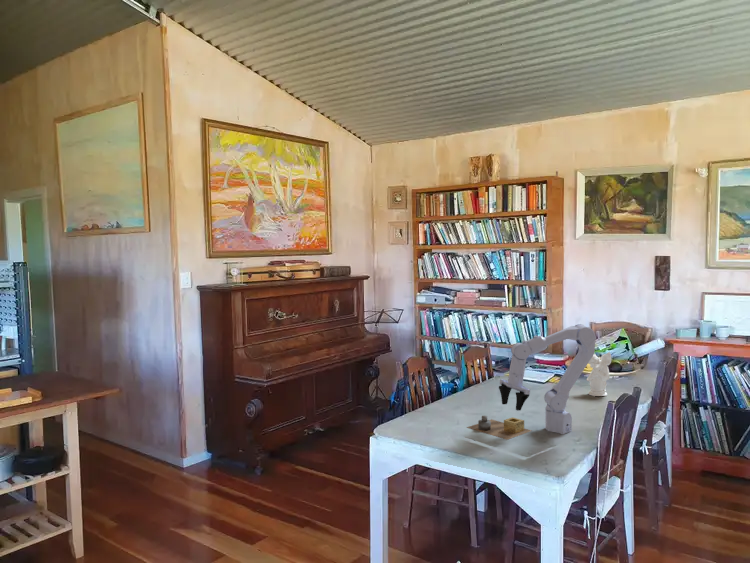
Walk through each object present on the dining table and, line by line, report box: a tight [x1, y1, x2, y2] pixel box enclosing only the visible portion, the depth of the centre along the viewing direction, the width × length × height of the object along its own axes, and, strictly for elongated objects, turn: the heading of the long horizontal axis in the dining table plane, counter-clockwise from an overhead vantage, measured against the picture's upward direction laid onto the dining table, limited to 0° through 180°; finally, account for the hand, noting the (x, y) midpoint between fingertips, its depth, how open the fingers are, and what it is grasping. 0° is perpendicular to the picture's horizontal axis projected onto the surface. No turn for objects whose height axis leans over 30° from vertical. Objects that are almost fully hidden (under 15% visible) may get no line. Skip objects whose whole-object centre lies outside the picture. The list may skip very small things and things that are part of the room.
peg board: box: [466, 415, 533, 441], centre depth 226 cm, size 20×16×6 cm
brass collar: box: [503, 417, 525, 434], centre depth 224 cm, size 6×6×4 cm
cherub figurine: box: [586, 351, 612, 397], centre depth 281 cm, size 12×12×22 cm
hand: (511, 407), depth 225 cm, fingers open, 7 cm apart
